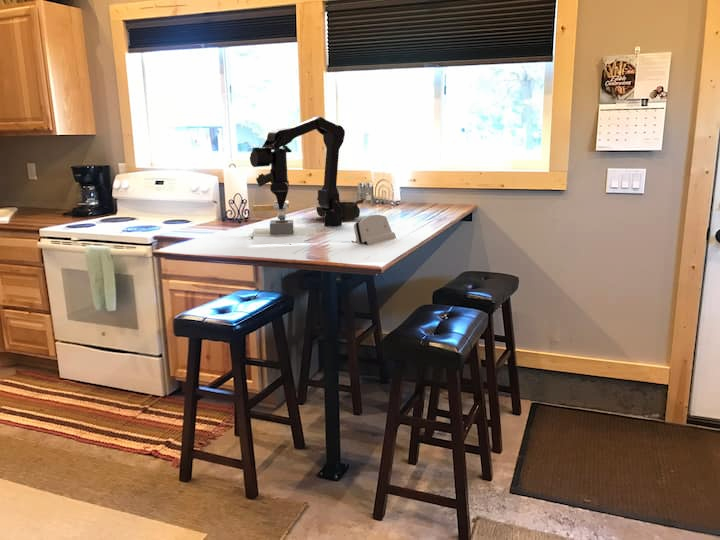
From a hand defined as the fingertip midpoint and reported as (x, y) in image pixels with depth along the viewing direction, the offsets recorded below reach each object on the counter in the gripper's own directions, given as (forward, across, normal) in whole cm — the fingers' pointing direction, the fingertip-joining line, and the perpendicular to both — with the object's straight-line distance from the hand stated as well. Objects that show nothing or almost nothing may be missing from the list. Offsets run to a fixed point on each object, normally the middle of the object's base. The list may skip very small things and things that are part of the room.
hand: (281, 208), depth 221 cm
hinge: (+10, +17, +32) cm, 38 cm away
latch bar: (+2, -9, -5) cm, 10 cm away
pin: (+4, 0, 0) cm, 4 cm away
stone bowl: (+10, -37, +23) cm, 45 cm away
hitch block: (+10, -2, +1) cm, 10 cm away
